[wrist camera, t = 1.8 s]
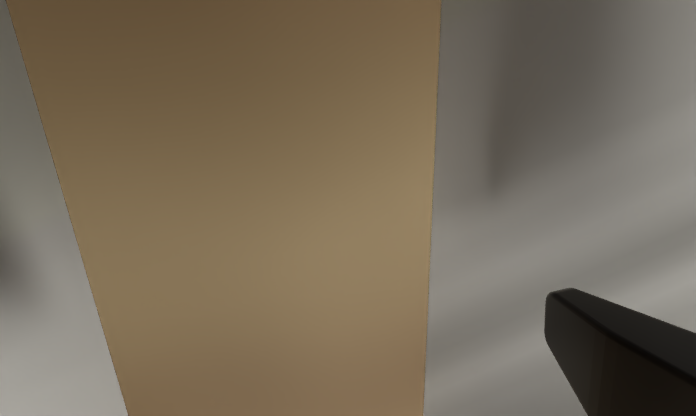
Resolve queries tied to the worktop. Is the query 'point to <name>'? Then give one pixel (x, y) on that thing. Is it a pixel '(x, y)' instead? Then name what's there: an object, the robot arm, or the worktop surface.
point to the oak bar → (248, 194)
